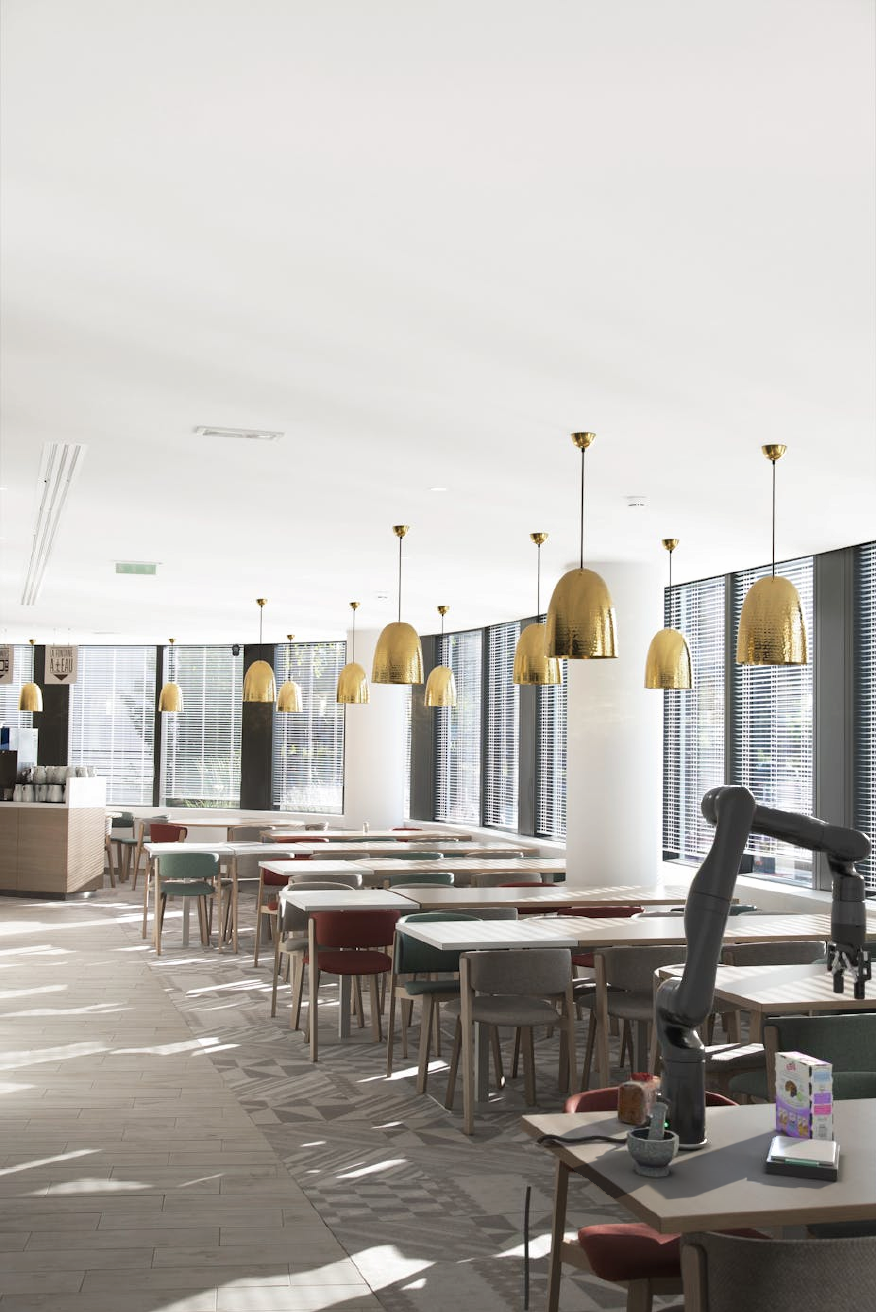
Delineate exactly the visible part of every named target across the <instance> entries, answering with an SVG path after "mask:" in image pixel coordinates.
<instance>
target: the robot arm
mask: <svg viewBox="0 0 876 1312" xmlns="http://www.w3.org/2000/svg"><path fill="white" fill-rule="evenodd" d="M700 812H701V815H702V817H703V819H705V821H706V822H707V823H708V824H710V825H711V826H713V827H715V832H714V836H713V840H712V844H711V847H710V849H709V851H708V853H707V854H706V857H705V858H704V860H703V861H702V863H701V864H700V865H699V867H698V869H697V870H696V872H695V873H694V876H693V877H692V878H691V881H690V884H689V887H688V891H687V895H686V900H685V902H684V903H685V904H684V910H683V927H684V928H683V929H684V937H685V943H686V944H685V945H686V956H685V957H686V958H685V963H684V967H683V971H682V976H681V977H670V978H667V979H666V980H664V981H663V982H661V984H660V985H659V987H658V989H657V991H656V995H655V1002H654V1003H655V1008H654V1009H655V1010H654V1011H655V1035H656V1042H657V1044H658V1047H659V1052H660V1053H659V1054H660V1055H659V1056H660V1057H659V1058H660V1062H659V1068H660V1069H659V1075H660V1076H659V1078H660V1094H657V1096H656V1102H660V1103H663V1104H666V1105H667V1107H668V1108H667V1111H666V1113H665V1126H664V1130H667V1131H671V1132H674V1133H675V1134H677V1135H678V1136H679V1146H678V1150H699V1149H703V1148H705V1147H707V1138H706V1137H707V1136H708V1129H707V1125H706V1121H707V1119H706V1117H707V1116H706V1115H707V1113H706V1111H707V1110H706V1106H707V1105H706V1097H707V1096H706V1095H707V1094H706V1047H705V1045H704V1043H703V1042H702V1041H701V1039H700V1037H699V1035H698V1032H697V1028H699V1027H701V1026H703V1025H704V1024H705V1023H706V1022H707V1020H708V1019H709V1017H710V1016H711V1012H712V1009H713V1005H714V997H715V990H716V980H717V973H718V967H719V966H718V965H719V960H720V956H721V953H722V947H723V942H724V937H725V933H726V929H727V924H728V921H729V917H730V913H731V908H732V902H733V899H734V893H735V888H736V884H737V880H738V877H739V871H740V867H741V862H742V858H743V855H744V852H745V848H746V846H747V842H748V840H749V838H750V833H755V834H760V835H762V836H765V837H769V838H772V839H775V840H777V841H780V842H783V843H786V844H789V845H792V846H795V847H797V848H801V849H804V850H807V851H811V852H817V853H824V854H825V859H826V864H827V868H828V872H829V875H830V879H831V904H830V941H831V942H832V943H833V944H827V954H826V955H827V957H826V970H827V972H830V974H831V976H832V980H833V981H832V991H833V993H834V994H843V993H844V992H845V977H844V974H845V972H846V970H848V972H849V973H850V974H851V975H852V978H853V980H854V981H853V999H854V1000H856V1001H863V1000H865V999H866V983H867V981H871V980H872V979H873V978H872V976H873V974H872V954H871V952H870V951H867V950H866V951H863V950H862V946H863V945H866V943H867V942H868V941H867V938H868V937H867V934H868V933H867V931H868V929H867V927H868V926H867V924H868V923H867V907H866V906H867V905H866V881H865V878H864V876H863V875H862V874H860V873H858V872H857V871H856V867H855V864H854V863H861V862H864V861H866V860H867V859H868V858H869V857H870V856H871V854H872V851H873V845H872V842H871V841H872V840H871V839H870V838H869V836H868V835H867V834H865V832H863V831H861V830H859V829H855V828H851V827H846V826H842V825H837V824H832V823H829V822H825V821H823V820H821V819H818V818H815V817H812V816H808V815H807V814H806V815H805V814H803V813H798V812H793V811H790V810H786V809H785V810H784V809H779V808H774V807H770V806H765V805H763V804H760V803H759V804H758V803H757V801H756V798H755V795H754V793H753V792H752V791H751V790H750V789H749V788H747V787H746V786H743V785H718V786H715V787H712V788H709V789H708V790H707V791H706V792H705V793H704V794H703V796H702V797H701V801H700ZM652 1116H653V1114H651V1115H646V1122H644V1123H643V1124H641V1125H637V1126H635V1127H634V1128H633V1129H640V1128H650V1125H651V1120H652ZM546 1140H555V1141H558V1142H561V1143H565V1144H577V1143H583V1142H588V1141H603V1142H604V1141H605V1142H609V1143H614V1144H615V1143H616V1144H627V1137H625V1138H615V1137H611V1136H607V1135H601V1134H593V1135H592V1134H591V1135H585V1136H581V1137H573V1138H572V1137H565V1136H564V1137H563V1136H560V1135H557V1134H553V1133H547V1134H543V1135H542V1136H540V1137H539V1138H538V1139H537V1140H536V1141H535V1142H536V1143H543V1142H544V1141H546ZM531 1194H532V1186H530V1185H529V1186H528V1185H527V1186H526V1195H525V1203H524V1224H523V1225H524V1226H523V1248H524V1251H523V1253H524V1255H523V1256H524V1258H523V1259H524V1303H523V1310H524V1311H529V1307H530V1306H529V1304H530V1246H529V1245H530V1244H529V1243H530V1241H529V1240H530V1239H529V1238H530V1236H529V1235H530V1233H529V1229H530V1228H529V1226H530V1225H529V1223H530V1204H531Z"/></svg>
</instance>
